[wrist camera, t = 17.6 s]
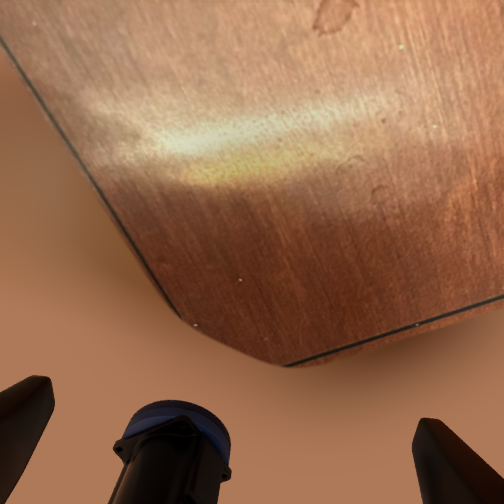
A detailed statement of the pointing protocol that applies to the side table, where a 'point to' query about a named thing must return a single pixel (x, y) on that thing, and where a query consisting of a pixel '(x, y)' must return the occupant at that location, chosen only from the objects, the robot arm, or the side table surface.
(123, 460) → the robot arm
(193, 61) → the side table surface
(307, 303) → the side table surface
